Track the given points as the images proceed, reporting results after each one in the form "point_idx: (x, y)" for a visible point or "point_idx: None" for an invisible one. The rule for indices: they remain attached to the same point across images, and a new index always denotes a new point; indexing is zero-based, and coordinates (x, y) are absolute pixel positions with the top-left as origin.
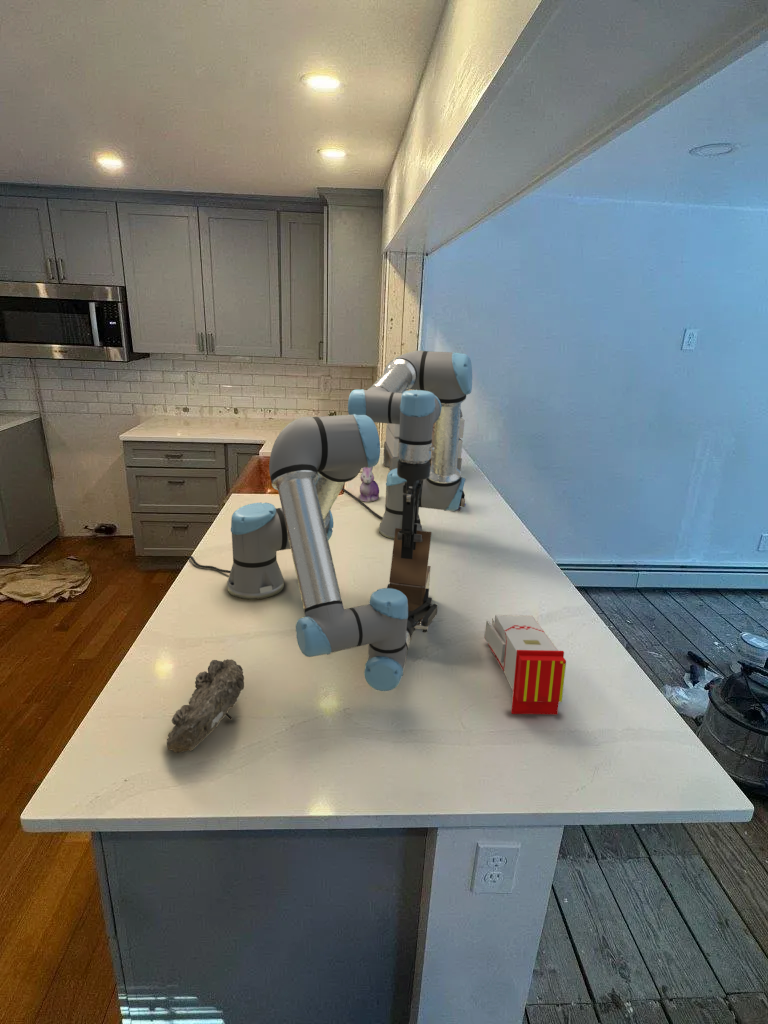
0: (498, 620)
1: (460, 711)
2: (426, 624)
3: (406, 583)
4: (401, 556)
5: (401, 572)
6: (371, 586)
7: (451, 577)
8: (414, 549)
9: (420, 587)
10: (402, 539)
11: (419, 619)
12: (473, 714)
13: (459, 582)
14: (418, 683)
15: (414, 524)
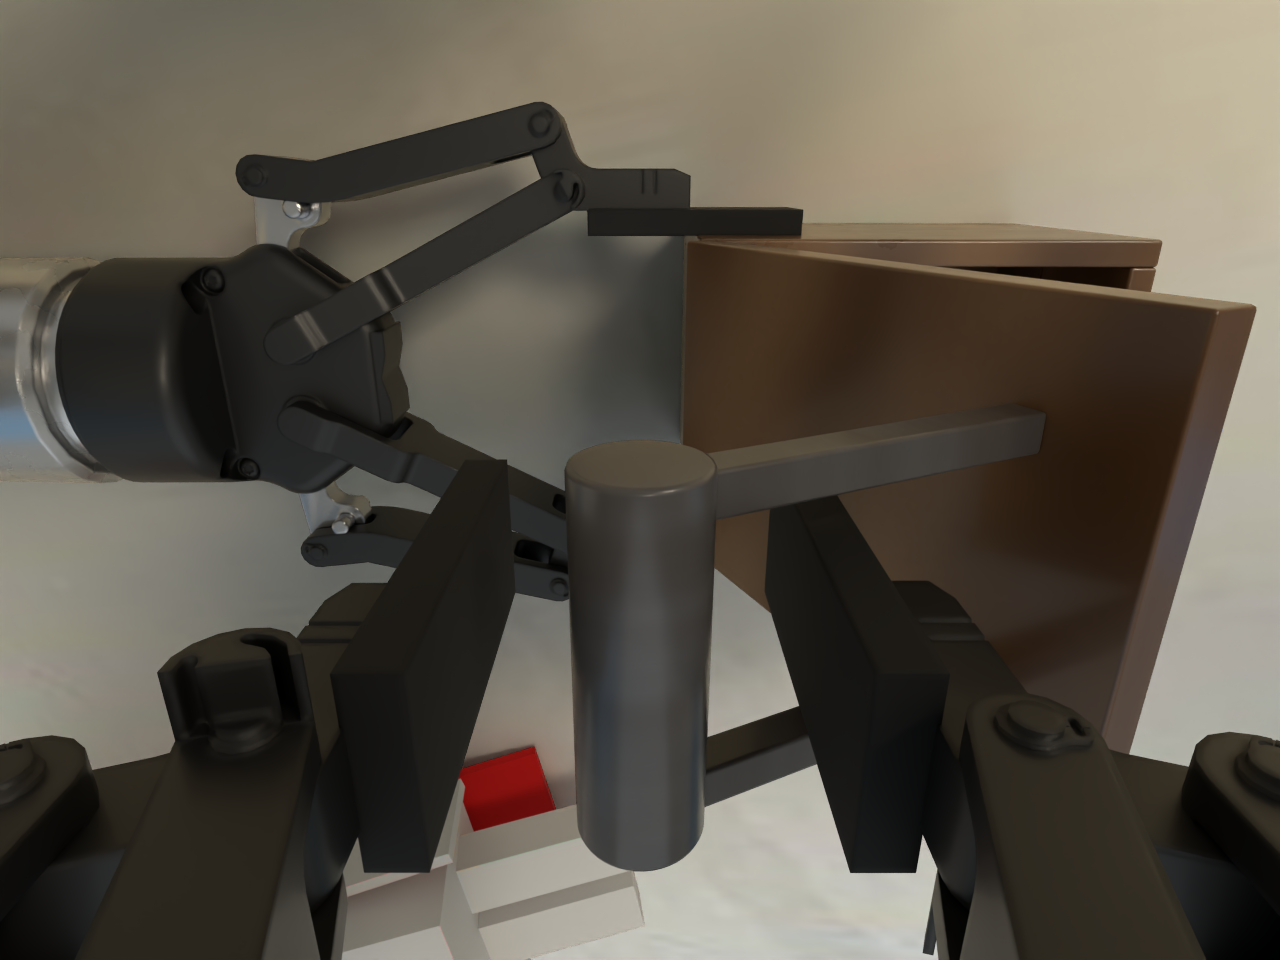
0: (362, 945)
1: (16, 658)
2: (307, 556)
3: (685, 397)
4: (458, 474)
5: (735, 361)
6: (1110, 9)
7: (1260, 551)
8: (765, 586)
9: None
10: (379, 599)
11: (680, 424)
12: (25, 702)
13: (1189, 598)
14: (110, 483)
15: (902, 829)
